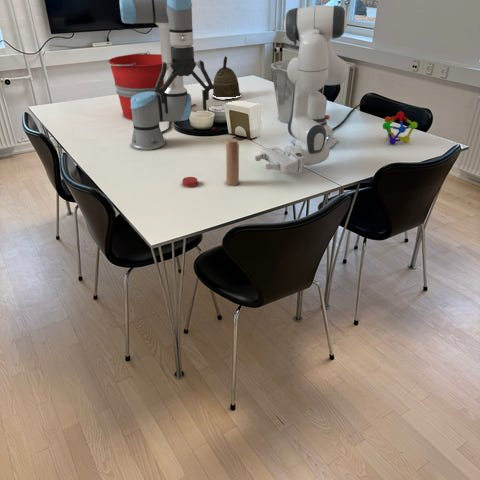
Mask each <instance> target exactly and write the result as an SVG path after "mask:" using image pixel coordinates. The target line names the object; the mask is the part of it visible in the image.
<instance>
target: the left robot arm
mask: <svg viewBox="0 0 480 480" xmlns="http://www.w3.org/2000/svg"><path fill="white" fill-rule="evenodd" d="M118 1H119V10H120V18H121V22H122V23H124V24H130V25H134V24H155V25H156V26H157V27H158V29H159V30H158V31H159V42H160V55H162V70H161V73H160V75H159V78H158V80H157V83H156V86H155V88H154V90H155V92H153V91H152V92H150V91H148V92H142V93H138V94H136V95H134V96H132V98H131V109H132V117H133V120H132V125H133V132H132V135H131V147H132V148H134V149H135V150H141V151H151V150H153V151H154V150H157V149H161V148H163V147H164V146H165V144H166V140H165V137H164V135H163V133H166V132H168V131H169V130H171V124H172V122H181V121H188V120H189V119H190V118H191V113H192V107H195V106H197V104H196V103H194V104H192V95H191V94H190V93H189V92H188V89H187V88H186V87H185V85H184V77H189V76H192V77H193V78H194V79H195V80H196V81H197V82H198V83H199V84H200V86H201V87H202V88H203V89H202V90H201V94H202V95H201V96H202V110H203V111H204V112H205V111H206V112H207V101H209V100H210V91H211V90H213V89H214V86H213V81H212V79H211V77H210V76H209V73H208V72H207V70H206V67H205V63H204V61H203V60H202V59H200V60H198V61H195V48H194V46H193V45H194V32H193V31H194V30H193V29H194V28H193V3H192V0H118ZM196 67H197V68H198V69H200V71H201V73H202V75H203V77H204V79H205V81H206V83H207V85H206V83H205V82H204V81H203V80H202V79H201V78H200V76H198V74H196V72H195V68H196ZM163 79H164V85H163V86H162V88H161V89H160V87H161V84H162V82H163ZM156 92H158V93H160V95H157V94H156ZM165 122H166V123H167V122H168V128H166V129H165V130H161V127H160V123H165Z"/></svg>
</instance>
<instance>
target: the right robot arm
mask: <svg viewBox="0 0 480 480" xmlns="http://www.w3.org/2000/svg"><path fill="white" fill-rule="evenodd" d="M347 25H348V16H347V13H346V9H345V8H344V7H343V6H341V5H337V4H336V5H321V4H316V5H311V6H304V7H299V8H298V7H295V8H294V7H293V8H291V9H288V11H287V12H286V13H285V17H284V21H283V31H284V32H285V36H286V38H287V39H288V40H289V41H290V42H292V43H293V44H294V46H297V45H298V42H299V47H298V52H297V53H298V55H297V56H296V57H292V58H291V59H290V60H289V61H290V62H289V64H288V67H287V74H288V77H289V79H290V80H291V81H292V82H293V83H294V84H295V85H294V91H293V102H292V112H291V117H290V120H289V123H287V131H288V134H289V135H290V136H291V137H292V138H294V139H293V140H292V143H293V144H294V145H291V146H286V147H285V148H284V149H283V150H282V149H281V148H279V147H276V146H271V147H263V148H261V149H260V154H257V155H255V156H254V160H255V161H256V162H261V160H264V161H266V162H267V164H265V169H266V170H268V171H269V170H273V171H279V172H280V173H282V174H284V175H291V174H296V173H298V174H301V173H303V171H304V167H305V166H315V165H318V164H321V163H324V162H325V161H326V160H327V159H328V158H329V156H330V149H331V148H333V146H334V145H336V144H337V143H338V139H337V138H335V137H334V131H335V130H336V129H338V128H339V127H341V126H342V125H343V124H344V123H345V122H346V121H347V119H349V117H350V116H351V114H352V113H353V112H354V111H355V110H356V109H358V108H359V107H361V106H362V105H363V106H365V105H366V104H365V103H364V104H362V105H361V103H359V104H357V105H355V106H354V107H353V108H352V109H350V111H349V112H348V113H347V114H346V117H345V118H344V119H343V120H342V121H340V123H339V124H337V125H335V127H331V126H330V125H329V124H328V121H329V120H330V118H331V115H330V114H326V113H327V112H326V111H327V103H328V100H327V97H326V96H325V95H324V93H323V94H322V92H318V91H317V90H319V89H321V88H322V89H323V86H324V87H325V86H337V85H341V84H343V83H344V82H345V81H346V79H347V77H348V74H349V67H348V64H347V62H346V61H345V60H344V59H342V58H340V57H339V56H338V55H337V53H336V52H335V51H334V49H333V47H332V46H333V45H332V40H333V39H334V40H335V39H338V38H341V37H342V36H343V35H344V34H345V31H346V29H347ZM322 89H321V90H322ZM327 120H328V121H327Z"/></svg>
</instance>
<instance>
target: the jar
mask: <svg viewBox="0 0 480 480" xmlns="http://www.w3.org/2000/svg"><path fill="white" fill-rule="evenodd" d="M225 162H226V163H225V166H226V168H225V169H226V185H227V186H231V187H235V186H238V185H239V184H240V144H239V140H238V139H237V138H228V139H227V140H226V144H225Z"/></svg>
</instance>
